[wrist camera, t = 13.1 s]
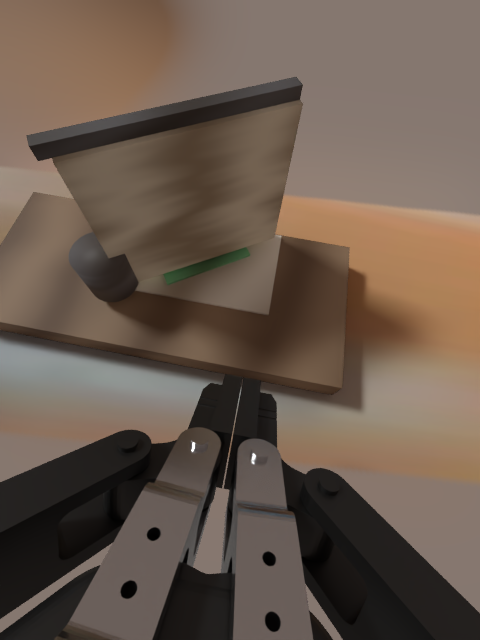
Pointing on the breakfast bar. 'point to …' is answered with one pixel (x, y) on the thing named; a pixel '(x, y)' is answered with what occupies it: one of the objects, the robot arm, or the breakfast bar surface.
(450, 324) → the breakfast bar surface
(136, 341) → the brown rectangular board
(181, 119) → the dark-edged wooden panel
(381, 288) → the breakfast bar surface
